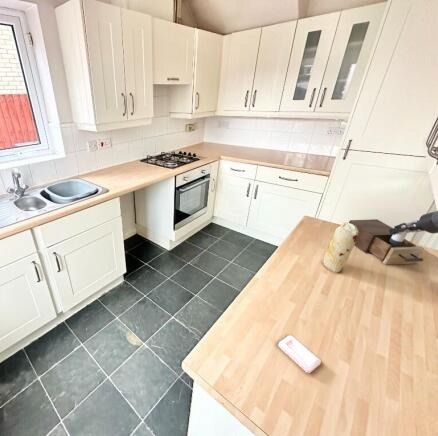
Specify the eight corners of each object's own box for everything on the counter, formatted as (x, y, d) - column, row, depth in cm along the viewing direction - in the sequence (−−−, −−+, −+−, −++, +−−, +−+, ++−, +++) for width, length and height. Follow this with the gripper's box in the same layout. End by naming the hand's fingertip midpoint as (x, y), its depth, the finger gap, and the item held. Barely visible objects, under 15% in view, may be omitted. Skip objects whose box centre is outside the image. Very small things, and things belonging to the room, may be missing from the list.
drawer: (424, 270, 97) (435, 254, 93) (394, 271, 96) (404, 255, 93) (387, 246, 111) (394, 231, 108) (361, 247, 111) (368, 232, 107)
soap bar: (307, 376, 63) (310, 370, 62) (276, 347, 70) (278, 342, 69) (319, 366, 65) (322, 360, 64) (288, 339, 73) (290, 333, 71)
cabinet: (393, 251, 109) (404, 234, 104) (364, 252, 109) (373, 235, 104) (368, 235, 121) (377, 219, 116) (342, 236, 120) (349, 220, 116)
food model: (344, 276, 95) (365, 233, 86) (325, 272, 98) (343, 230, 88) (337, 261, 103) (356, 221, 94) (319, 258, 106) (335, 218, 96)
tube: (396, 240, 103) (406, 223, 99) (403, 245, 100) (413, 228, 96) (386, 239, 103) (395, 223, 100) (393, 244, 100) (403, 227, 96)
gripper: (459, 209, 86) (408, 222, 103) (420, 210, 86) (376, 223, 102) (467, 230, 84) (414, 240, 101) (428, 231, 84) (381, 241, 100)
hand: (395, 231), depth 101 cm, fingers closed on tube, 3 cm apart
